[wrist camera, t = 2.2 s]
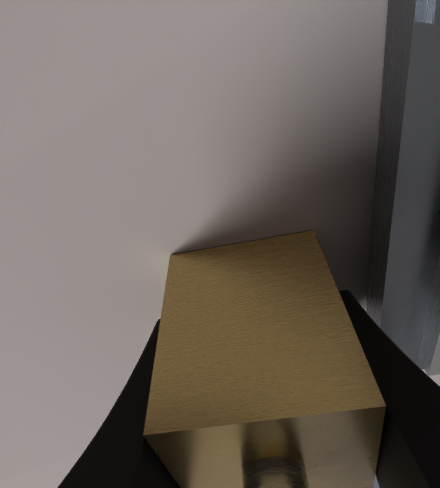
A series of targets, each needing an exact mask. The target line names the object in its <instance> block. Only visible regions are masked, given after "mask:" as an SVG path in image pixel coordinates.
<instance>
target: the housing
mask: <svg viewBox="0 0 440 488" xmlns="http://www.w3.org/2000/svg"><path fill="white" fill-rule="evenodd" d="M385 410H386V405H385V402H384V400H383V397H382V395H381V392H380V390H379V388H378V385H377V383H376V380H375V378H374V376H373V373H372V371H371V368H370V366H369V363H368V361H367V359H366V356H365V354H364V351H363V349H362V346H361V344H360V342H359V339H358V337H357V334H356V332H355V330H354V327H353V325H352V322H351V320H350V317H349V315H348V313H347V310H346V308H345V305H344V303H343V300H342V298H341V296H340V293H339V291H338V288H337V286H336V283H335V281H334V279H333V276H332V274H331V271H330V269H329V267H328V264H327V262H326V259H325V257H324V254H323V252H322V250H321V247H320V245H319V242H318V240H317V237H316V235H315V233H314V230H313V231H307V232H301V233H295V234H290V235H284V236H278V237H272V238H267V239H261V240H255V241H249V242H244V243H238V244H232V245H226V246H220V247H215V248H209V249H203V250H197V251H192V252H186V253H180V254H174V255H170V259H169V266H168V273H167V279H166V286H165V293H164V299H163V306H162V313H161V320H160V326H159V333H158V340H157V346H156V353H155V360H154V366H153V373H152V380H151V386H150V393H149V400H148V407H147V413H146V420H145V427H144V433H143V436H144V437H145V438H146V440H147V441H148V443H149V444H150V446H151V447H152V448H153V450H154V451H155V453H156V454H157V455H158V457H159V458H160V460H161V461H162V462H163V464H164V465H165V467H166V468H167V470H168V471H169V472H170V474H171V475H172V477H173V478H174V479H175V481H176V482H177V484H178V485H179V487H180V488H373V486H374V480H375V473H376V467H377V461H378V454H379V448H380V441H381V435H382V429H383V422H384V416H385Z"/></svg>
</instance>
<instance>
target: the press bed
mask: <svg viewBox="0 0 440 488" xmlns="http://www.w3.org/2000/svg"><path fill="white" fill-rule="evenodd" d="M366 312H367V314H368V315H369V316H370V317H371V318H372V319H373V321H374V322H375V323H376V324H377V325H378V326H379V327H380V328H381V329H382V331H383V332H384V333H385V334H386V335H387V336H388V337H389V338H390V339H391V340H392V341H393V342H394V343H395V344H396V345H397V346H398V347H399V348H400V349H401V350H402V351H403V352H404V353H405V354H406V355H407V356H408V357H409V358H410V359H411V360H412V361H413V362H414V363H415V364H416V365H417V366H418V367H419V368H420V369H425V371H426V373H427V375H428V376H429V375H437V374H440V0H388V14H387V28H386V42H385V56H384V70H383V84H382V98H381V113H380V127H379V141H378V155H377V169H376V183H375V197H374V212H373V226H372V240H371V254H370V268H369V282H368V296H367V311H366Z"/></svg>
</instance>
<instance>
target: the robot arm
mask: <svg viewBox="0 0 440 488" xmlns="http://www.w3.org/2000/svg"><path fill="white" fill-rule="evenodd" d="M339 293H340V296H341V298H342V300H343V303H344V305H345V308H346V310H347V313H348V315H349V317H350V320H351V322H352V325H353V327H354V330H355V332H356V334H357V337H358V339H359V342H360V344H361V346H362V349H363V351H364V354H365V356H366V359H367V361H368V363H369V366H370V368H371V371H372V373H373V376H374V378H375V380H376V383H377V385H378V388H379V390H380V392H381V395H382V397H383V400H384V402H385V405H386V410H385V416H384V422H383V429H382V435H381V441H380V448H379V454H378V461H377V467H376V473H375V480H374V486H373V488H440V386H439V385H437V384H436V383H435V382H434V381H433V380H432V379H431V378H430V377H429V376H427V375H426V374H425V373H424V372H423V371H422V370H421V369H420V368H419V367H418V366H417V365H416V364H415V363H414V362H413V361H412V360H411V359H410V358H409V357H408V356H407V355H406V354H405V353H404V352H403V351H402V350H401V349H400V348H399V347H398V346H397V345H396V344H395V343H394V342H393V341H392V340H391V339H390V338H389V337H388V336H387V335H386V334H385V333H384V332H383V331H382V329H381V328H380V327H379V326H378V325H377V324H376V323H375V322H374V321H373V319H372V318H371V317H370V316H369V315H368V314H367V312H366V311H365V310H364V309H363V308H362V306H361V305H360V304H359V303H358V302H357V300H356V299H355V298H354V296H353V295H352V294H351V292H349V291H348V290H343V291H339ZM160 320H161V319H159V320H158V321H157V323H156V325H155V327H154V329H153V332H152V334H151V336H150V338H149V340H148V342H147V344H146V346H145V349H144V351H143V353H142V355H141V357H140V359H139V361H138V363H137V365H136V366H135V368H134V370H133V372H132V374H131V376H130V378H129V380H128V382H127V384H126V385H125V387H124V389H123V391H122V392H121V394H120V396H119V397H118V399H117V401H116V403H115V404H114V406H113V408H112V409H111V411H110V413H109V415H108V416H107V418H106V419H105V421H104V423H103V424H102V426H101V427H100V429H99V430H98V432H97V433H96V435H95V436H94V438H93V439H92V441H91V442H90V444H89V445H88V447H87V448H86V450H85V451H84V453H83V454H82V455H81V457H80V458H79V459H78V461H77V462H76V464H75V465H74V466H73V468H72V469H71V470H70V472H69V473H68V474H67V476H66V477H65V479H64V480H63V481H62V482H61V484H60V485H59V486H58V488H180V487H179V485H178V484H177V482H176V481H175V479H174V478H173V477H172V475H171V474H170V472H169V471H168V470H167V468H166V467H165V465H164V464H163V462H162V461H161V460H160V458H159V457H158V455H157V454H156V453H155V451H154V450H153V448H152V447H151V446H150V444H149V443H148V441H147V440H146V438H145V437H144V436H143V433H144V427H145V420H146V413H147V407H148V400H149V393H150V386H151V380H152V373H153V366H154V360H155V353H156V346H157V340H158V333H159V326H160Z"/></svg>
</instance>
